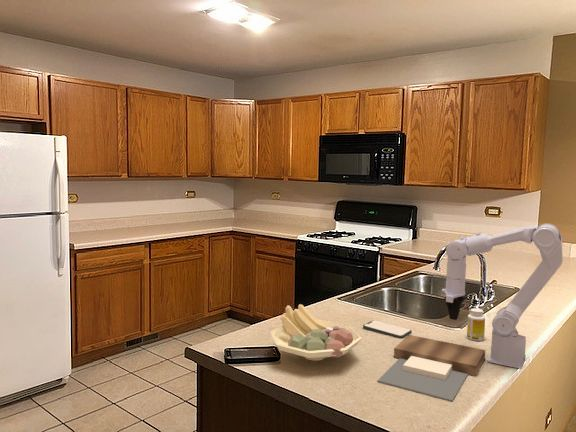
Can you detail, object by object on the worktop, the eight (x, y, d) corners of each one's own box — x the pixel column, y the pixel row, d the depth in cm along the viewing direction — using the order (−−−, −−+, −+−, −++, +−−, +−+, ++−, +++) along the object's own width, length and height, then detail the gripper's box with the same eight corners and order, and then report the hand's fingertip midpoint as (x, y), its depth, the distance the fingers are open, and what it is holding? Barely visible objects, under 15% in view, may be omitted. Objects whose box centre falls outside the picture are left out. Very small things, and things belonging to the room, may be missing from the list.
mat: (467, 375, 132) (467, 373, 132) (452, 401, 117) (452, 400, 117) (399, 359, 143) (399, 358, 143) (377, 381, 128) (377, 380, 128)
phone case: (412, 334, 167) (373, 323, 177) (413, 329, 167) (374, 319, 177) (401, 341, 160) (361, 329, 171) (401, 336, 160) (361, 325, 170)
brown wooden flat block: (484, 359, 143) (485, 350, 143) (475, 376, 132) (476, 366, 131) (408, 343, 156) (408, 334, 156) (393, 357, 145) (394, 348, 144)
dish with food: (290, 332, 164) (290, 293, 161) (369, 345, 153) (370, 304, 151) (255, 368, 138) (254, 323, 136) (346, 387, 128) (347, 338, 125)
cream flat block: (452, 369, 135) (452, 364, 135) (445, 380, 128) (445, 375, 128) (411, 360, 141) (411, 355, 141) (402, 370, 135) (402, 365, 135)
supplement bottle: (487, 339, 160) (489, 310, 159) (476, 342, 157) (478, 313, 156) (474, 334, 165) (475, 306, 164) (463, 337, 162) (464, 308, 161)
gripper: (448, 271, 156) (446, 310, 158) (436, 280, 144) (434, 322, 146) (470, 274, 152) (468, 314, 154) (460, 283, 140) (458, 327, 142)
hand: (453, 318), depth 150 cm, fingers closed
